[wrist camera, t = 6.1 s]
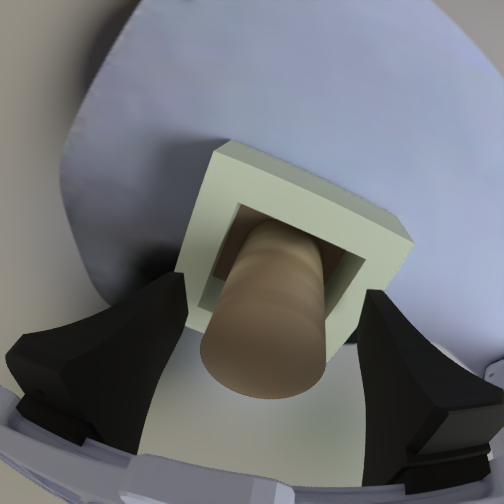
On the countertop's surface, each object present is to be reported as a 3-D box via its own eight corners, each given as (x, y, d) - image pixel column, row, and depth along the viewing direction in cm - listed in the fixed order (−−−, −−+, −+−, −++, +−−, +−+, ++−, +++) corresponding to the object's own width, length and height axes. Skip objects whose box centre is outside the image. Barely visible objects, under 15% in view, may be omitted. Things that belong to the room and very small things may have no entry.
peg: (261, 299, 17) (236, 405, 11) (226, 236, 16) (176, 330, 10) (332, 276, 16) (341, 385, 10) (302, 205, 14) (297, 295, 8)
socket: (396, 216, 14) (415, 244, 11) (316, 338, 18) (316, 375, 16) (231, 139, 14) (213, 150, 11) (181, 282, 18) (162, 315, 15)
